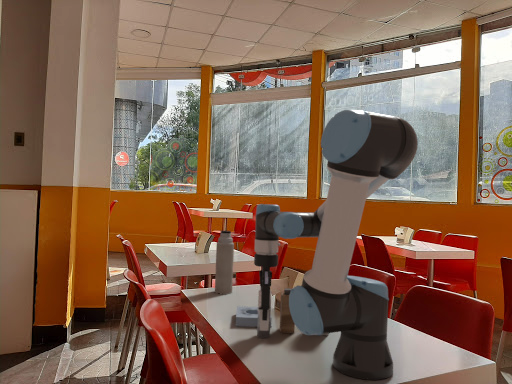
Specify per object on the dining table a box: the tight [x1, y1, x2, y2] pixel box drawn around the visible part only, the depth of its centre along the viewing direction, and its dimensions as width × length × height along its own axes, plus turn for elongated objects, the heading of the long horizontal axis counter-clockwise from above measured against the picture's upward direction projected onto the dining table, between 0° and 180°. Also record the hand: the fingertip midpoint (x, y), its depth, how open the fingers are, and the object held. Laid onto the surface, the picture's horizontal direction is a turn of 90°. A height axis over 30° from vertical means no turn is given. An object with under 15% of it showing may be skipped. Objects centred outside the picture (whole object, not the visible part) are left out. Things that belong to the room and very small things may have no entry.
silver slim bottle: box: [256, 286, 272, 339], centre depth 126 cm, size 4×4×16 cm
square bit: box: [279, 287, 296, 334], centre depth 132 cm, size 4×4×14 cm
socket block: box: [235, 305, 272, 328], centre depth 142 cm, size 14×12×3 cm
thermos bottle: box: [214, 230, 235, 295], centre depth 184 cm, size 8×8×28 cm
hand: (263, 327), depth 126 cm, fingers closed on silver slim bottle, 4 cm apart
